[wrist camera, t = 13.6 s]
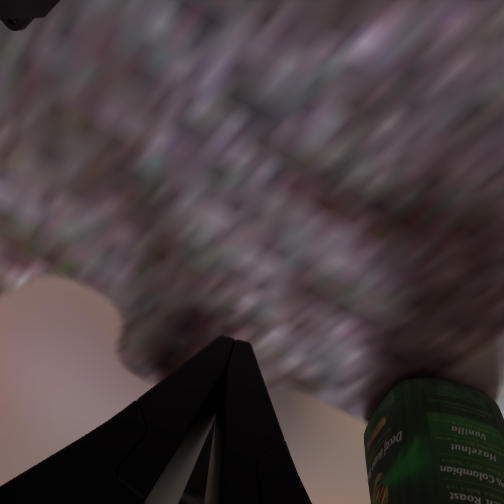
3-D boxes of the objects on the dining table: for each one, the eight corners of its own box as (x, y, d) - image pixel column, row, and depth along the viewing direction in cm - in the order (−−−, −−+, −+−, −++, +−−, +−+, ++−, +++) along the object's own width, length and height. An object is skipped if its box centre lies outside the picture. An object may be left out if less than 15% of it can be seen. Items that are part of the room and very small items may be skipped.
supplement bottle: (195, 367, 31) (129, 545, 21) (265, 412, 32) (236, 600, 22) (152, 406, 34) (78, 576, 24) (218, 445, 36) (173, 621, 25)
